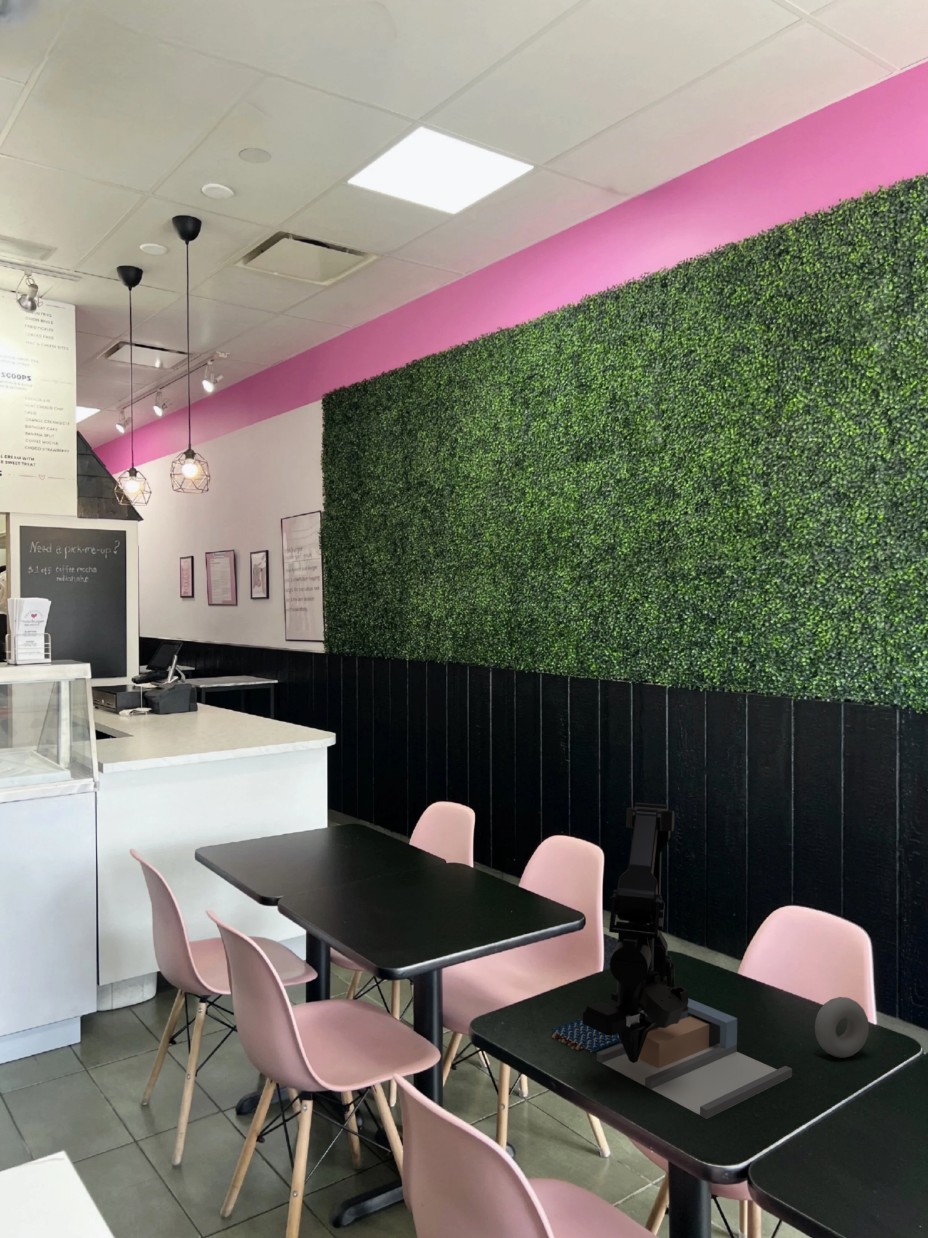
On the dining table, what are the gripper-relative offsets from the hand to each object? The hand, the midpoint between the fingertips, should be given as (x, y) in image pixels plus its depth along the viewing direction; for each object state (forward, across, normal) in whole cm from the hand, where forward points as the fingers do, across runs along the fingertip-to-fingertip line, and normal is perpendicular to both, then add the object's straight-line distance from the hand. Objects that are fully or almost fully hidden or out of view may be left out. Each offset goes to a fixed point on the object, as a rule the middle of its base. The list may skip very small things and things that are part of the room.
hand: (633, 1061), depth 144 cm
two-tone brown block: (+1, +12, 0) cm, 12 cm away
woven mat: (+3, +4, +13) cm, 14 cm away
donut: (+2, +35, -16) cm, 38 cm away
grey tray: (+2, +9, -5) cm, 10 cm away
